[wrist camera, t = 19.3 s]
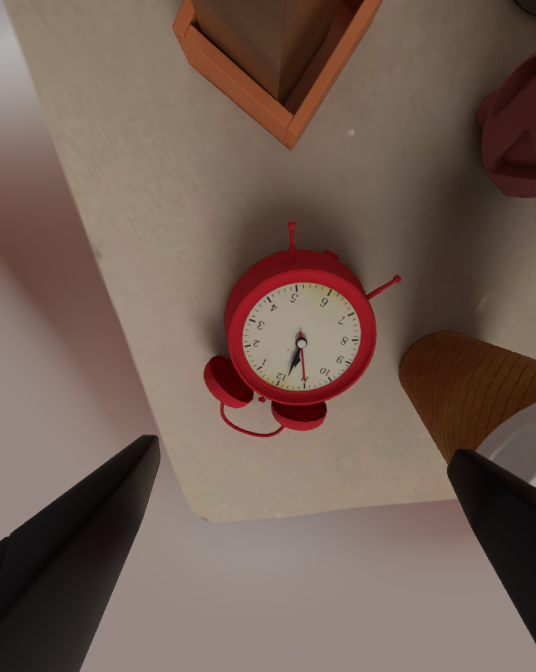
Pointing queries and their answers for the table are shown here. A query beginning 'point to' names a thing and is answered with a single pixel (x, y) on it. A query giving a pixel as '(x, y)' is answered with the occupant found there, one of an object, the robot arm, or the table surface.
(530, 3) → the stove knob
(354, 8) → the socket pad
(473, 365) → the disposable coffee cup
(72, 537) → the robot arm
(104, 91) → the table surface
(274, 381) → the alarm clock
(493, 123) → the mechanical component
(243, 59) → the brown rectangular block
